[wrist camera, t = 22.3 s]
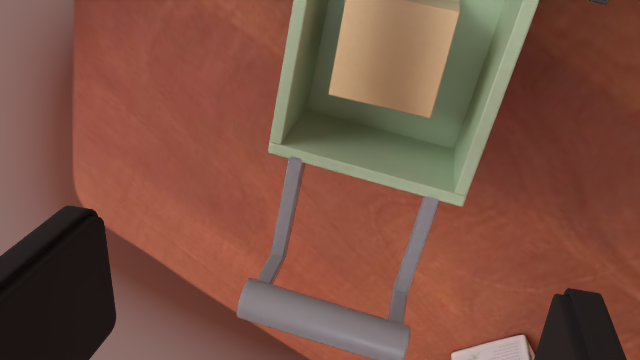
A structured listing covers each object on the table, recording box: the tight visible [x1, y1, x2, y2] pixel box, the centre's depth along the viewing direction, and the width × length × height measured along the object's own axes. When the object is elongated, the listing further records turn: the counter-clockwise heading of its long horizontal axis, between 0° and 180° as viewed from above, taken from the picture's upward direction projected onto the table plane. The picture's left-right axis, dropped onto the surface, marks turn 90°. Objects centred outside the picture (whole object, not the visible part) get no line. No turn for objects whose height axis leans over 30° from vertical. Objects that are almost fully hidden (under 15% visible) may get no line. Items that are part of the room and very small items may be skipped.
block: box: [329, 0, 460, 118], centre depth 22 cm, size 4×4×4 cm
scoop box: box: [237, 0, 539, 360], centre depth 22 cm, size 15×8×9 cm, turn 168°
